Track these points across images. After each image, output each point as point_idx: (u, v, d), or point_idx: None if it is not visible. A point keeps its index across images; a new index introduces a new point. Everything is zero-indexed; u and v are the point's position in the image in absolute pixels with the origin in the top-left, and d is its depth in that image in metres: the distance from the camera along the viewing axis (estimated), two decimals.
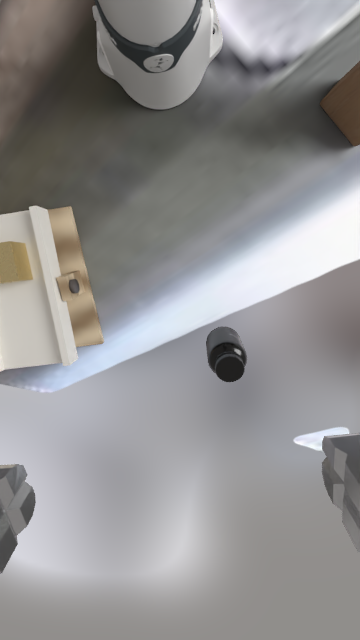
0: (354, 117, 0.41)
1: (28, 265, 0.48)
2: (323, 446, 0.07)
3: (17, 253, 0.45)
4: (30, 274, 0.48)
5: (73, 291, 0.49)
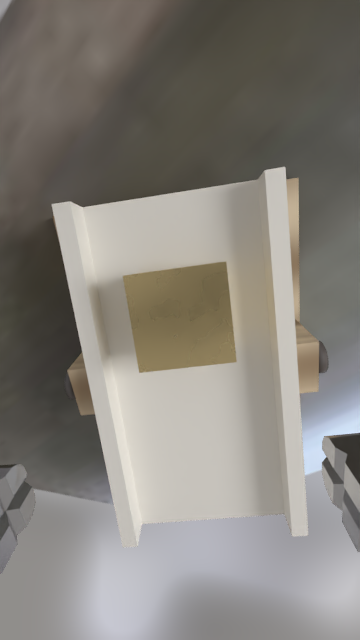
0: None
1: None
2: (323, 446, 0.07)
3: None
4: None
5: (321, 371, 0.21)
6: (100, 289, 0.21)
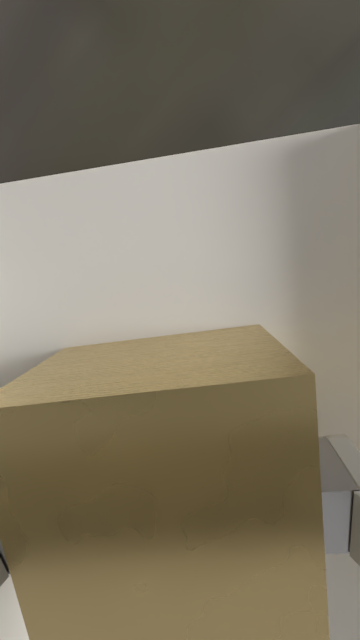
0: None
1: None
2: None
3: None
4: None
5: None
6: None
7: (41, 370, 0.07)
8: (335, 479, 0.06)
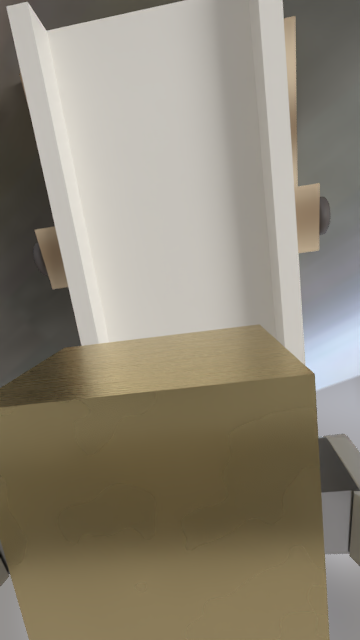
0: None
1: None
2: None
3: None
4: None
5: (322, 228, 0.19)
6: (70, 134, 0.18)
7: (41, 370, 0.07)
8: (335, 479, 0.06)
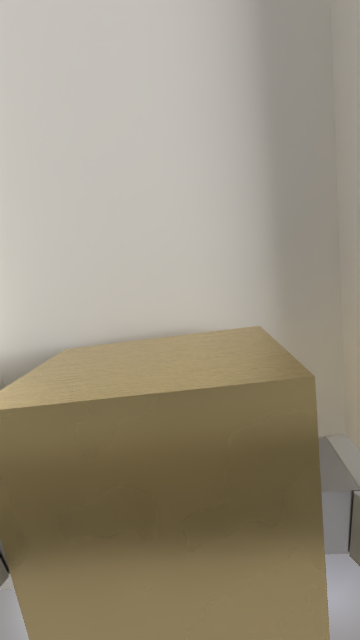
0: None
1: None
2: None
3: None
4: None
5: None
6: None
7: (41, 372, 0.07)
8: (335, 479, 0.06)
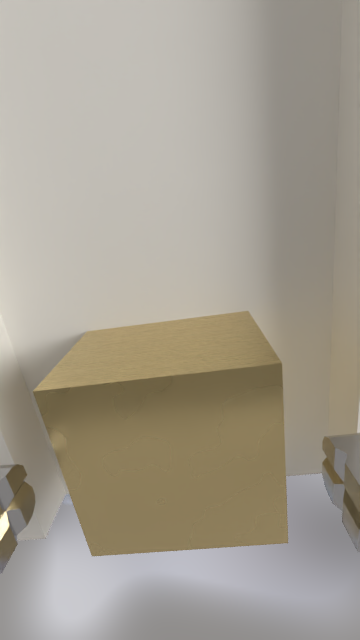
0: None
1: None
2: (323, 446, 0.07)
3: None
4: None
5: None
6: None
7: (76, 354, 0.09)
8: None
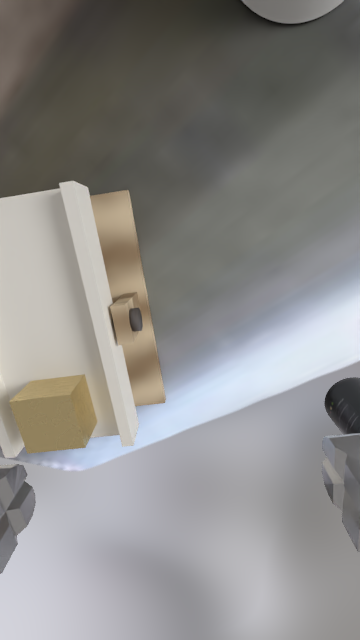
0: None
1: (90, 407, 0.31)
2: (323, 446, 0.07)
3: (79, 403, 0.28)
4: (94, 418, 0.32)
5: (136, 328, 0.29)
6: None
7: (23, 390, 0.29)
8: None
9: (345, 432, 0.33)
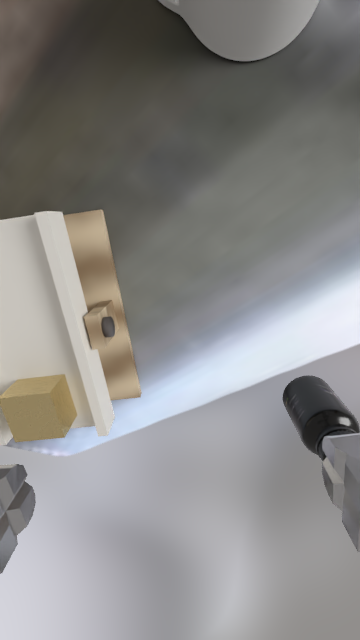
0: None
1: (70, 402, 0.36)
2: (323, 446, 0.07)
3: (58, 400, 0.33)
4: (74, 411, 0.36)
5: (107, 335, 0.33)
6: None
7: (10, 388, 0.33)
8: None
9: (295, 424, 0.37)
